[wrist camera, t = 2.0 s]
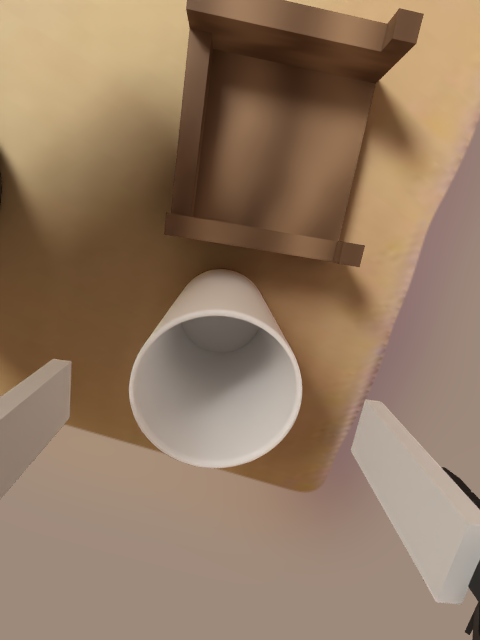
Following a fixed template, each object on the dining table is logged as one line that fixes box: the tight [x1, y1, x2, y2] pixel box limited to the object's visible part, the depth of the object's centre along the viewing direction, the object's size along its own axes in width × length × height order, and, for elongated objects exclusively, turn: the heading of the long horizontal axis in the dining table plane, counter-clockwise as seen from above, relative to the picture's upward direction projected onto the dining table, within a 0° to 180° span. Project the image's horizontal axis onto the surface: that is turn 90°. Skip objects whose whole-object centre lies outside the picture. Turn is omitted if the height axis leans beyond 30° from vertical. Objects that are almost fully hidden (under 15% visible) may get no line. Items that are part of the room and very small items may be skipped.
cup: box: [129, 269, 302, 468], centre depth 23 cm, size 8×8×16 cm
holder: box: [164, 0, 424, 267], centre depth 24 cm, size 14×15×7 cm
